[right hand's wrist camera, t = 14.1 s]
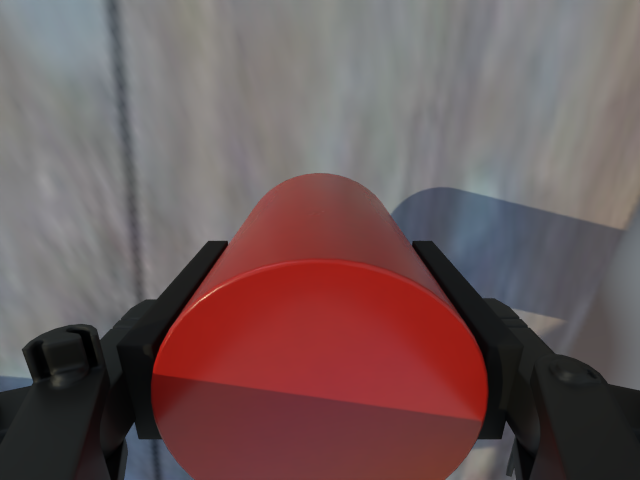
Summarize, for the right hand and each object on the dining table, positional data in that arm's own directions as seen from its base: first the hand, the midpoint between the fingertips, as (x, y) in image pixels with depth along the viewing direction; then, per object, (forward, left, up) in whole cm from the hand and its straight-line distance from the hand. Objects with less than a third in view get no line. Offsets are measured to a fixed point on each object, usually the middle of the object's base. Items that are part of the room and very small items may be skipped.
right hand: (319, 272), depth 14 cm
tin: (0, 0, -3) cm, 3 cm away
